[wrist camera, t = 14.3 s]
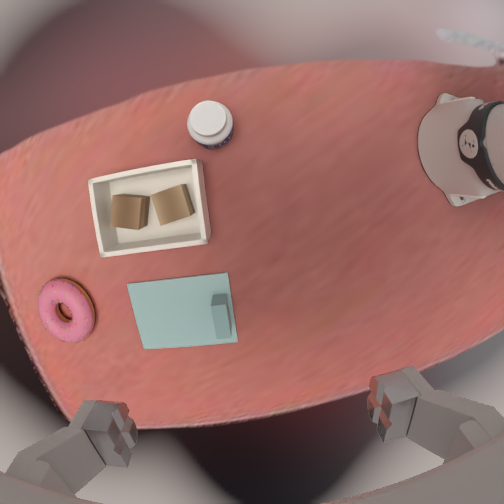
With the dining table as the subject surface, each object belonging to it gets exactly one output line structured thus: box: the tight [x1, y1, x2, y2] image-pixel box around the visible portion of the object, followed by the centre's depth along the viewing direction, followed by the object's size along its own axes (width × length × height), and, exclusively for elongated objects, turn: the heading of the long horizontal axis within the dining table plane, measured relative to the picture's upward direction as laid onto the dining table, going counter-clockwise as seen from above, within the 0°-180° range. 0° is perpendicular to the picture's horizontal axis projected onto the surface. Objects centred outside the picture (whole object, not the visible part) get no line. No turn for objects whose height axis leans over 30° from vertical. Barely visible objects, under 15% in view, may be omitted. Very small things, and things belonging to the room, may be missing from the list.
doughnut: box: [38, 279, 95, 343], centre depth 42 cm, size 11×11×4 cm
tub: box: [88, 159, 212, 258], centre depth 38 cm, size 14×10×6 cm
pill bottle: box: [187, 101, 233, 149], centre depth 35 cm, size 5×5×9 cm
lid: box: [127, 272, 238, 349], centre depth 43 cm, size 15×11×5 cm
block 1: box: [110, 193, 150, 230], centre depth 38 cm, size 4×4×4 cm
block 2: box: [151, 184, 195, 226], centre depth 38 cm, size 4×4×4 cm
